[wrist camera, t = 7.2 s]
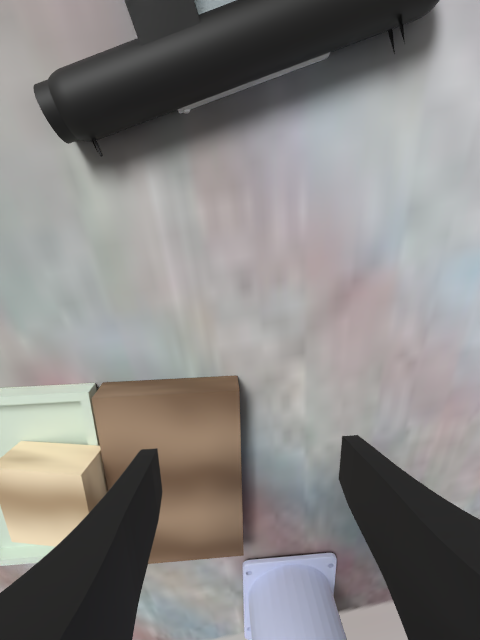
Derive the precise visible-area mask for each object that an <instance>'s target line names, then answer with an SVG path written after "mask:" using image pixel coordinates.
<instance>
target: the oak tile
mask: <svg viewBox="0 0 480 640" xmlns="http://www.w3.org/2000/svg"><path fill="white" fill-rule="evenodd" d="M107 492H108V487H107V481H106V476H105V470H104V465H103V459H102V454H101V448H100V446H96V445H81V444H65V443H49V442H33V441H20V442H19V443H18V444H17V445H15V446H14V447H13V448H12V449H11V450H9V451H8V452H7V453H6V454H5V455H3V456H2V457H1V458H0V506H1V509H2V512H3V516H4V519H5V522H6V525H7V528H8V532H9V535H10V538H11V541H12V542H16V543H26V544H35V545H45V546H55V547H56V546H57V545H58V544H59V543H60V542H61V541H62V540H63V539H64V538H65V537H66V536H67V535H68V534H69V533H70V532H71V531H72V530H73V529H74V528H75V527H76V526H77V525H78V524H79V523H80V522H81V521H82V520H83V519H84V518H85V517H86V516H87V515H88V514H89V513H90V511H91V510H92V509H93V508H94V507H95V506H96V505H97V504H98V502H99V501H100V500H101V499H102V498H103V497H104V496H105V494H106V493H107Z"/></svg>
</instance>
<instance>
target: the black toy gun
mask: <svg viewBox="0 0 480 640" xmlns="http://www.w3.org/2000/svg"><path fill="white" fill-rule="evenodd" d="M438 2H439V0H236V1H234V2H231V3H229V4H226V5H223V6H221V7H218V8H216V9H213V10H210V11H208V12H205V13H203V14H200V15H198V12H197V9H196V5H195V2H194V0H125V3H126V5H127V8H128V11H129V14H130V17H131V19H132V22H133V25H134V28H135V30H136V33H137V36H138V38H137V39H135V40H132V41H130V42H127V43H124V44H122V45H119V46H117V47H114V48H111V49H109V50H106V51H104V52H101V53H98V54H96V55H93V56H91V57H88V58H85V59H83V60H80V61H78V62H75V63H72V64H70V65H67V66H65V67H62V68H59V69H58V70H56V71H55V72H53V73H52V74H51V76H50V77H49V79H48V80H45V81H43V82H40V83H37V84H35V85H34V93H35V96H36V99H37V101H38V104H39V106H40V108H41V110H42V112H43V114H44V116H45V117H46V119H47V121H48V122H49V124H50V125H51V127H52V128H53V130H54V131H55V132H56V133H57V135H58V136H59V137H60V138H61V139H62V140H63V141H64V142H66V143H68V144H69V143H72V142H74V141H77V140H83V141H92V142H93V144H94V146H95V145H96V146H95V148H96V147H97V149H98V152H99V154H100V156H103V155H102V153H101V150H100V148H99V145H98V143H97V141H96V140H97V139H100V138H103V137H105V136H108V135H111V134H113V133H116V132H119V131H121V130H124V129H127V128H129V127H132V126H135V125H137V124H140V123H143V122H145V121H148V120H151V119H153V118H156V117H159V116H161V115H164V114H167V113H169V112H172V111H175V110H177V109H178V112H179V114H180V113H182V112H183V113H185V114H187V113H189V112H190V110H191V109H193V108H196V107H198V106H201V105H204V104H206V103H209V102H212V101H214V100H217V99H220V98H222V97H225V96H228V95H230V94H233V93H236V92H238V91H241V90H244V89H246V88H249V87H252V86H254V85H257V84H260V83H262V82H265V81H268V80H270V79H273V78H276V77H278V76H281V75H284V74H286V73H289V72H292V71H294V70H297V69H300V68H302V67H305V66H308V65H310V64H313V63H316V62H318V61H321V60H324V59H326V58H328V56H329V54H330V52H332V51H334V50H337V49H340V48H342V47H345V46H348V45H350V44H353V43H356V42H358V41H361V40H364V39H366V38H369V37H372V36H374V35H377V34H380V33H382V32H385V31H388V33H389V37H390V40H391V44H392V47H393V51H394V42H393V32H392V29H393V28H396V27H398V26H400V29H401V33H402V37H403V40H404V31H403V25H404V24H406V23H409V22H412V21H414V20H417V19H419V18H421V17H422V16H424V15H425V14H427V13H428V12H429V11H430V10H431V9H432V8H433V7H434V6H435V5H436V4H437V3H438ZM404 44H405V42H404ZM394 54H395V51H394ZM93 140H94V141H93ZM94 142H95V143H94ZM97 149H96V150H97Z"/></svg>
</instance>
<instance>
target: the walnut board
mask: <svg viewBox="0 0 480 640" xmlns="http://www.w3.org/2000/svg"><path fill="white" fill-rule="evenodd" d="M91 399H92V404H93V410H94V415H95V421H96V426H97V432H98V437H99V443H100V448H101V454H102V459H103V465H104V470H105V476H106V481H107V487H108V491H109V490H110V488H111V487H112V486H113V485H114V483H115V482H116V481H117V480H118V479H119V477H120V476H121V475H122V473H123V472H124V471H125V470H126V468H127V467H128V466H129V464H130V463H131V462H132V460H133V459H134V458H135V456H136V455H137V454H138V452H139V451H140V450H141V449H156V448H157V449H158V458H159V466H160V474H161V483H162V491H163V492H162V499H161V507H160V514H159V520H158V525H157V529H156V533H155V537H154V541H153V545H152V549H151V553H150V557H149V561H148V564H152V563H163V562H175V561H186V560H197V559H209V558H220V557H232V556H243V515H242V475H241V436H240V396H239V384H238V377H237V376H220V377H200V378H181V379H162V380H143V381H124V382H105V383H102V385H101V386H100V387H99V389H98V390H97V392H96V393H95V394H94V396H93V397H92V398H91Z"/></svg>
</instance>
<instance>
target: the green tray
mask: <svg viewBox="0 0 480 640" xmlns="http://www.w3.org/2000/svg"><path fill="white" fill-rule="evenodd" d="M96 392H97V389H96V383H85V384H66V385H47V386H28V387H9V388H0V458H1V457H2V456H3V455H5V454H6V453H7V452H8V451H9V450H11V449H12V448H13V447H14V446H15V445H17V444H18V443H19V442H20V441H33V442H49V443H65V444H81V445H96V446H100V443H99V437H98V432H97V426H96V421H95V415H94V410H93V404H92V399H91V398H92V397H93V396H94V394H95V393H96ZM54 548H55V546H45V545H35V544H26V543H16V542H12V541H11V538H10V535H9V532H8V528H7V525H6V522H5V519H4V516H3V512H2V509H1V506H0V566H5V565H16V564H28V563H38V562H39V561H40V560H41V559H42V558H43V557H45V556H46V555H47V554H48V553H49V552H50V551H51V550H53V549H54Z"/></svg>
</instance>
